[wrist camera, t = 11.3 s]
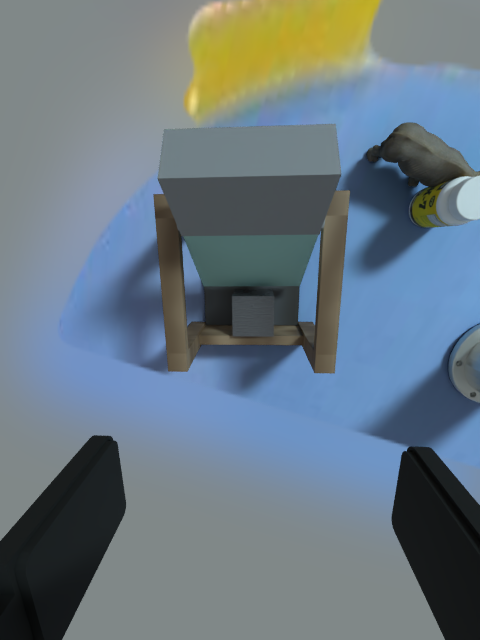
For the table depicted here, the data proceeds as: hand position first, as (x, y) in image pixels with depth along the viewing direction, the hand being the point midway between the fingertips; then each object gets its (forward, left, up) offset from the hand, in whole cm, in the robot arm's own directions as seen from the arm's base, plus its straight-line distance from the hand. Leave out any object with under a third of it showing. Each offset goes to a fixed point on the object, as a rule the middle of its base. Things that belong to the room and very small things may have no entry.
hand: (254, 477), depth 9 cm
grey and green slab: (0, -9, -21) cm, 23 cm away
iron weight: (0, -1, -28) cm, 28 cm away
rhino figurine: (-20, -15, -31) cm, 40 cm away
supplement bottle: (-21, -11, -31) cm, 39 cm away
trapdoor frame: (0, -3, -31) cm, 31 cm away
